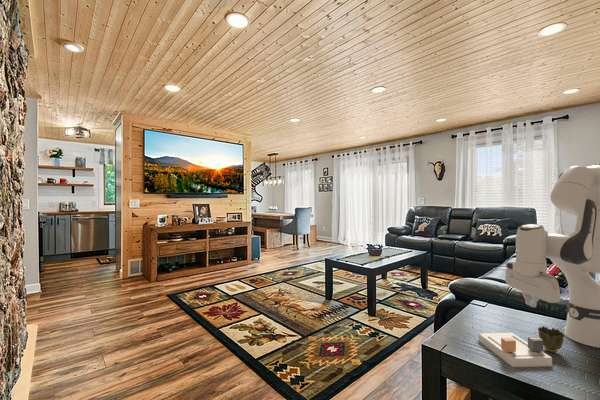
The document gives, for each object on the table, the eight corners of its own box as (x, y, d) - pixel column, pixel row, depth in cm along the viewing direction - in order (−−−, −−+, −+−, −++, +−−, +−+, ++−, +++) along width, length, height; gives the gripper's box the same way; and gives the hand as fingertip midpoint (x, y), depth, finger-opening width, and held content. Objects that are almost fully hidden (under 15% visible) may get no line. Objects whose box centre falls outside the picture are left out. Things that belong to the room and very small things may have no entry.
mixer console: (511, 339, 116) (511, 332, 116) (552, 366, 98) (552, 357, 98) (478, 340, 116) (478, 333, 116) (512, 367, 98) (512, 358, 98)
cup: (563, 350, 108) (563, 330, 108) (564, 359, 102) (564, 337, 102) (538, 344, 113) (538, 324, 113) (537, 351, 107) (537, 331, 107)
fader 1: (510, 348, 104) (510, 337, 104) (515, 351, 101) (515, 340, 101) (501, 348, 104) (501, 337, 104) (506, 352, 101) (506, 340, 101)
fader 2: (537, 347, 104) (537, 336, 104) (543, 351, 102) (543, 340, 101) (527, 348, 104) (527, 336, 104) (533, 351, 101) (533, 340, 101)
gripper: (566, 276, 94) (566, 317, 94) (517, 261, 114) (517, 295, 115) (547, 276, 94) (548, 318, 94) (502, 262, 114) (502, 296, 114)
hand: (530, 305), depth 104 cm, fingers closed
